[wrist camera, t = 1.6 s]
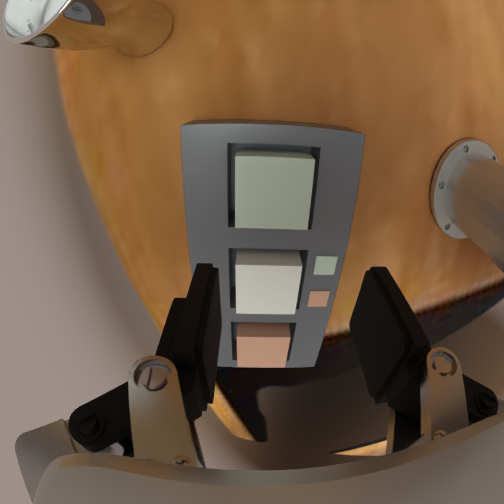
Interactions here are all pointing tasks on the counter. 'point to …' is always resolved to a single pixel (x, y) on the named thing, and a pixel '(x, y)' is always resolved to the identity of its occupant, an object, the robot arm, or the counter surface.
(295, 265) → the white key
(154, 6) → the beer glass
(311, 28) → the counter surface
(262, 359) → the terracotta key
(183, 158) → the keyguard board
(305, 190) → the sage key
